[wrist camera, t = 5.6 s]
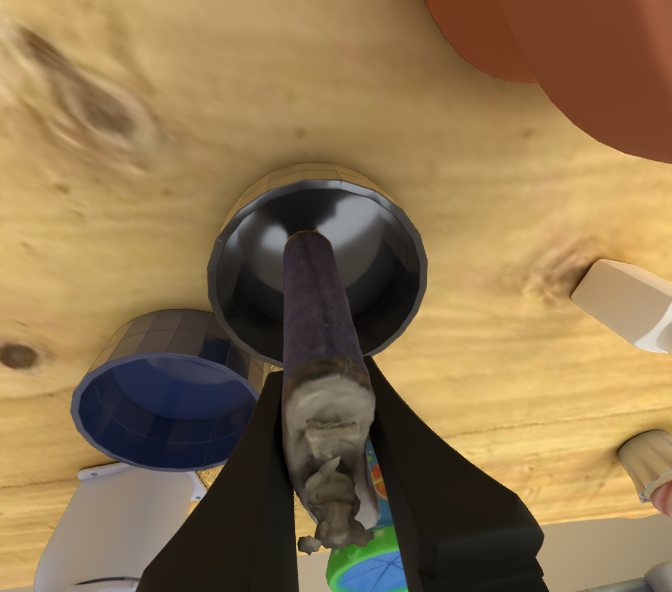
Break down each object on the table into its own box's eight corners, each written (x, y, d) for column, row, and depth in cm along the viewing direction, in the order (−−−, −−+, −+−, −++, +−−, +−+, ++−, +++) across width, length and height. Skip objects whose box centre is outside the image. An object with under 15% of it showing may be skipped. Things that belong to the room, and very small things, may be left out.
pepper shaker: (564, 299, 26) (686, 388, 18) (595, 254, 24) (747, 332, 16) (602, 305, 27) (734, 393, 19) (634, 263, 25) (797, 341, 17)
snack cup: (371, 500, 39) (395, 612, 31) (292, 489, 36) (294, 613, 27) (449, 421, 33) (506, 535, 24) (361, 398, 29) (392, 523, 21)
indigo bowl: (147, 432, 28) (126, 485, 24) (71, 324, 22) (25, 373, 18) (282, 408, 29) (282, 455, 25) (247, 295, 22) (239, 336, 18)
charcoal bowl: (249, 341, 24) (242, 386, 21) (194, 177, 18) (169, 199, 14) (403, 315, 25) (423, 354, 21) (402, 147, 18) (432, 160, 15)
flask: (349, 366, 20) (394, 596, 11) (301, 373, 20) (308, 611, 11) (333, 223, 15) (395, 434, 6) (269, 232, 15) (232, 461, 6)
